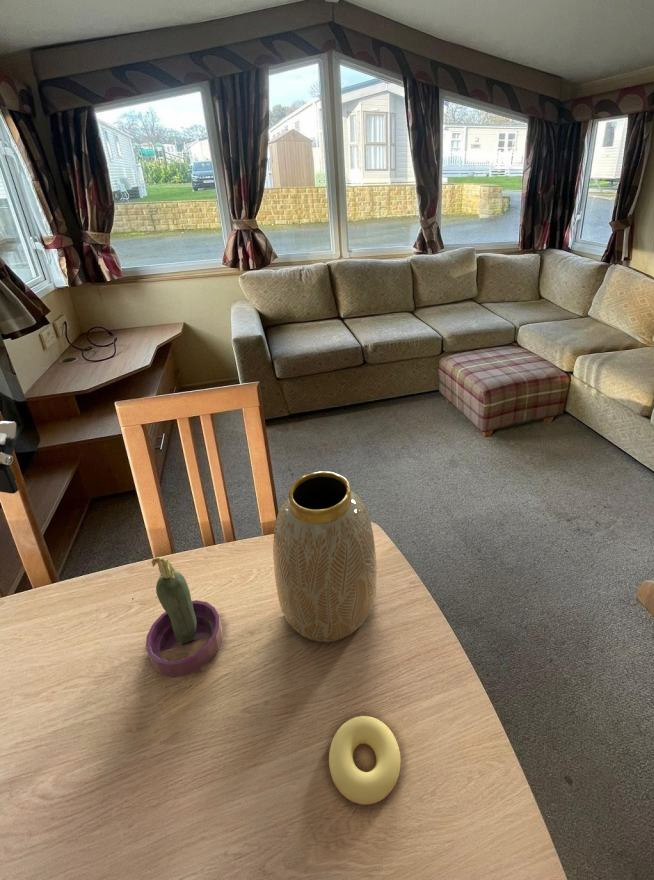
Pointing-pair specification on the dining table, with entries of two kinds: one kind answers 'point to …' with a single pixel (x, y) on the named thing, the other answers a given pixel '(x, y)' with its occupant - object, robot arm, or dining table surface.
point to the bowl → (164, 640)
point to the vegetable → (176, 600)
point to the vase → (324, 558)
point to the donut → (345, 772)
